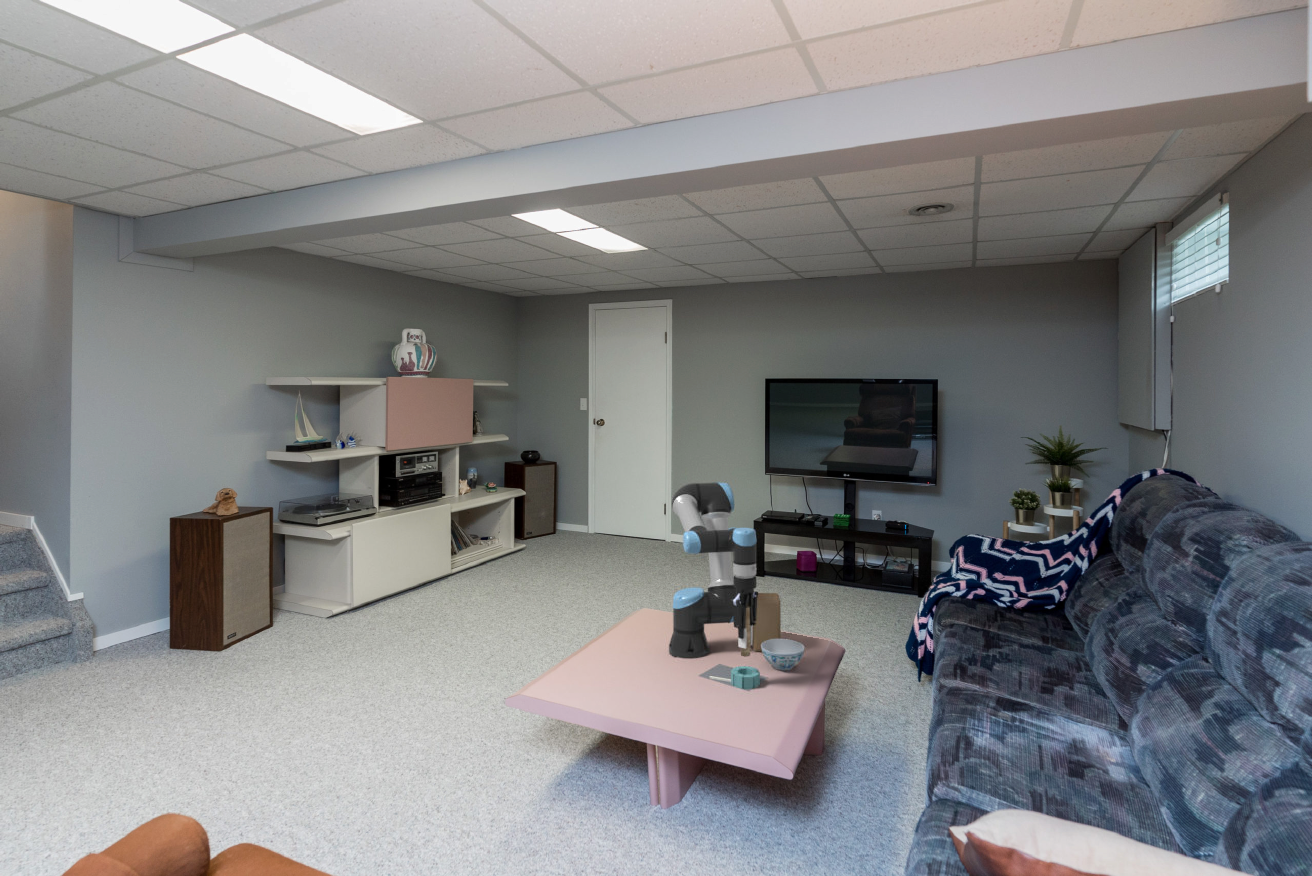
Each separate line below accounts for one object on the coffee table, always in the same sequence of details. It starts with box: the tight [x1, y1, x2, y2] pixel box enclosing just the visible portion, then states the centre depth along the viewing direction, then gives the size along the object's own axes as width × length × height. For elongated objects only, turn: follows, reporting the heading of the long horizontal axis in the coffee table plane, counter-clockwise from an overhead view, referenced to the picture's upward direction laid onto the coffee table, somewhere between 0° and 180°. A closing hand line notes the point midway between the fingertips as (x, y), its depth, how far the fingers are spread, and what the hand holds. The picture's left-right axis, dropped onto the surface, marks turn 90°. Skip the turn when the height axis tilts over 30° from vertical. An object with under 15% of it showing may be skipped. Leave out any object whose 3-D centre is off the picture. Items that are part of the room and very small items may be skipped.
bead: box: [731, 665, 761, 690], centre depth 227 cm, size 9×9×4 cm
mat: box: [698, 663, 769, 692], centre depth 233 cm, size 20×13×1 cm, turn 51°
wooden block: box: [752, 592, 782, 653], centre depth 259 cm, size 10×10×20 cm
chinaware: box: [761, 638, 805, 671], centre depth 241 cm, size 15×15×8 cm
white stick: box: [709, 676, 731, 682], centre depth 230 cm, size 8×1×1 cm, turn 66°
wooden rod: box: [740, 605, 751, 657], centre depth 226 cm, size 3×3×17 cm
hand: (745, 645), depth 226 cm, fingers closed on wooden rod, 3 cm apart
